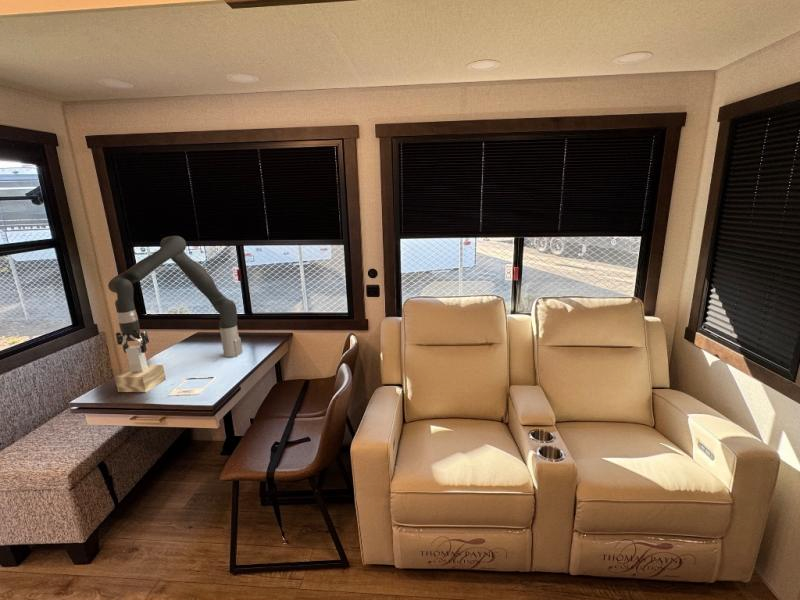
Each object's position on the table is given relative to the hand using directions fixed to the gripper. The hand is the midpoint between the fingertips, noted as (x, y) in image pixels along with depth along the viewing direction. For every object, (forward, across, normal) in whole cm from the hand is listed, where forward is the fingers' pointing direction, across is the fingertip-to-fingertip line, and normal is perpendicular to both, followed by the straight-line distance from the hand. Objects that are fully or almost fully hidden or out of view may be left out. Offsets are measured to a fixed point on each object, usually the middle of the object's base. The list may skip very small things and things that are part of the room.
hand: (135, 352), depth 186 cm
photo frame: (+18, -26, 0) cm, 32 cm away
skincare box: (+10, 0, 0) cm, 10 cm away
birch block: (+18, 0, 0) cm, 18 cm away
